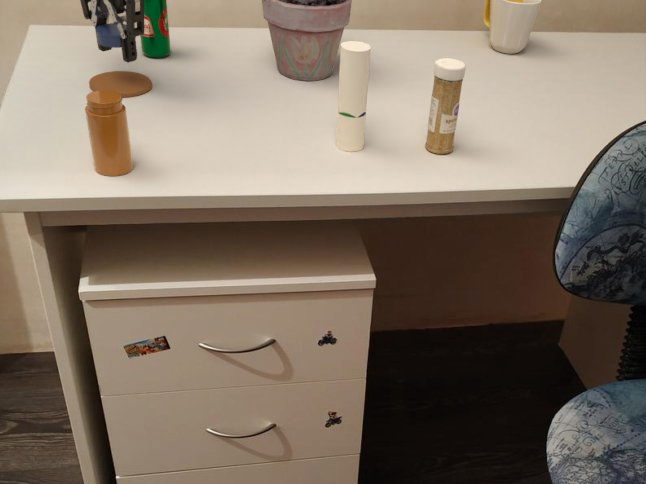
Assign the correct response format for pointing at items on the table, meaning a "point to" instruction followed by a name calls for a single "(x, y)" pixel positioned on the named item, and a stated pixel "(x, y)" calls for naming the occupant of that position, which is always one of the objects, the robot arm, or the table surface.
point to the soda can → (155, 29)
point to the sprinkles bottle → (444, 105)
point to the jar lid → (109, 35)
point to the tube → (352, 95)
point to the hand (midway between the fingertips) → (117, 54)
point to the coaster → (121, 83)
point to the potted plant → (306, 35)
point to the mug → (510, 23)
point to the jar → (108, 133)
